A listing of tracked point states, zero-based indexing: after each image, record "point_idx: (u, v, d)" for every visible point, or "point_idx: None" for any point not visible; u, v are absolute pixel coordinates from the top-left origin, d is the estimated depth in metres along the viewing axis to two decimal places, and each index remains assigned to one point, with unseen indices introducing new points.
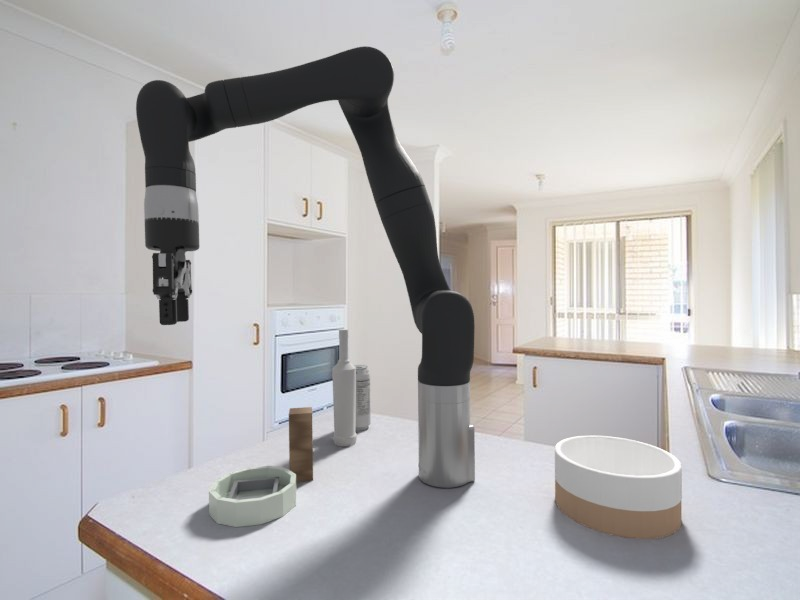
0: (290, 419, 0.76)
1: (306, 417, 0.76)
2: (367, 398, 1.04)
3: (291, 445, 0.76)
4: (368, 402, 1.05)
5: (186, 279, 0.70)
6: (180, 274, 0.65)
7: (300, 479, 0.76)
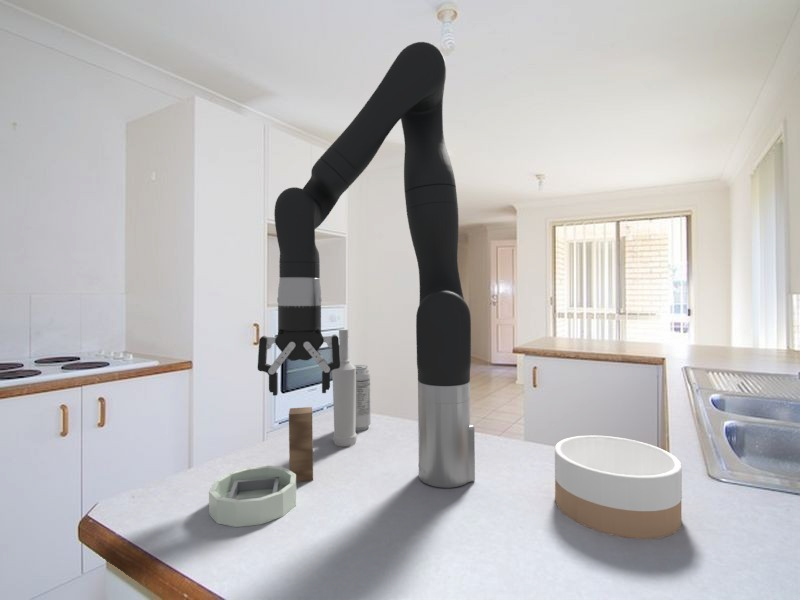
0: (290, 419, 0.76)
1: (306, 417, 0.76)
2: (367, 398, 1.04)
3: (291, 445, 0.76)
4: (368, 402, 1.05)
5: None
6: (317, 350, 0.80)
7: (300, 479, 0.76)
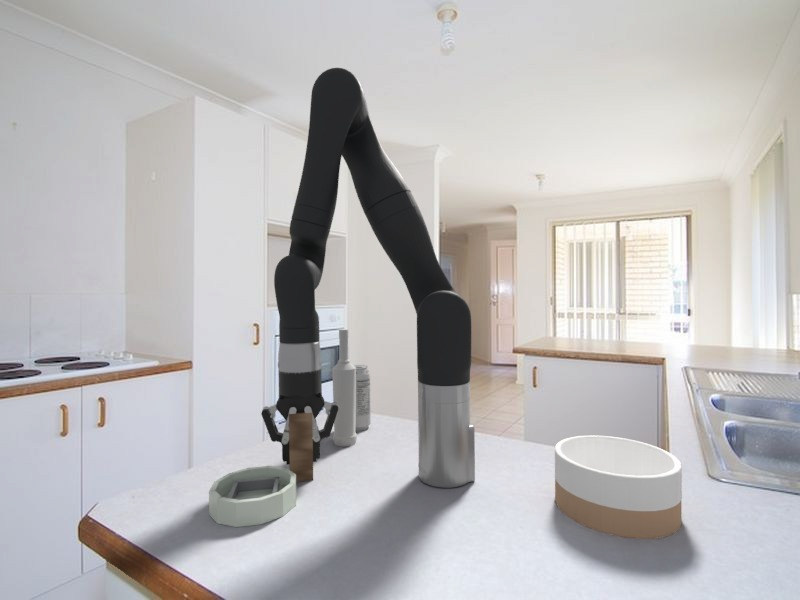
0: (290, 419, 0.76)
1: (306, 417, 0.76)
2: (367, 398, 1.04)
3: (291, 445, 0.76)
4: (368, 402, 1.05)
5: None
6: None
7: (300, 479, 0.76)
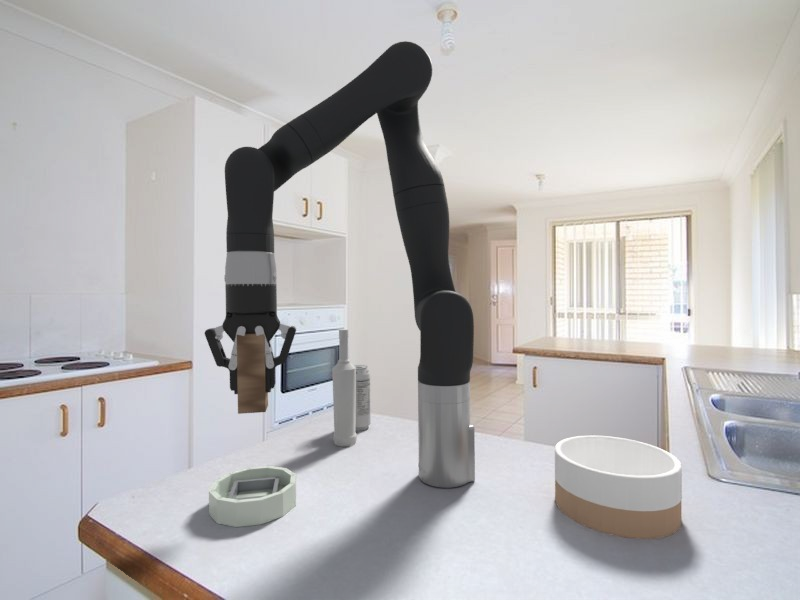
0: (238, 340, 0.65)
1: (257, 338, 0.66)
2: (367, 398, 1.04)
3: (239, 370, 0.65)
4: (368, 402, 1.05)
5: None
6: None
7: (250, 410, 0.66)
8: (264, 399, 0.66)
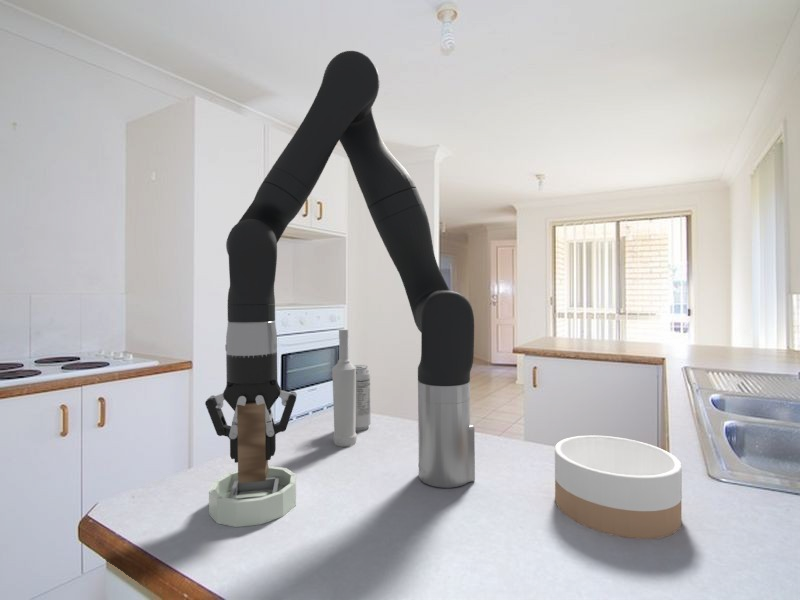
0: (239, 410, 0.66)
1: (258, 408, 0.66)
2: (367, 398, 1.04)
3: (240, 439, 0.66)
4: (368, 402, 1.05)
5: None
6: None
7: (250, 479, 0.66)
8: (264, 468, 0.67)
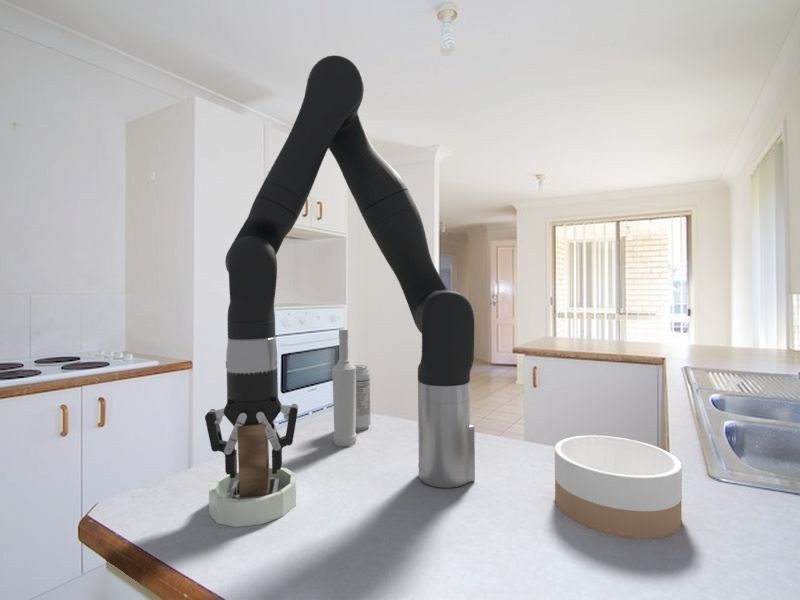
0: (239, 432, 0.66)
1: (258, 429, 0.66)
2: (367, 398, 1.04)
3: (241, 462, 0.66)
4: (368, 402, 1.05)
5: None
6: None
7: None
8: (266, 489, 0.67)
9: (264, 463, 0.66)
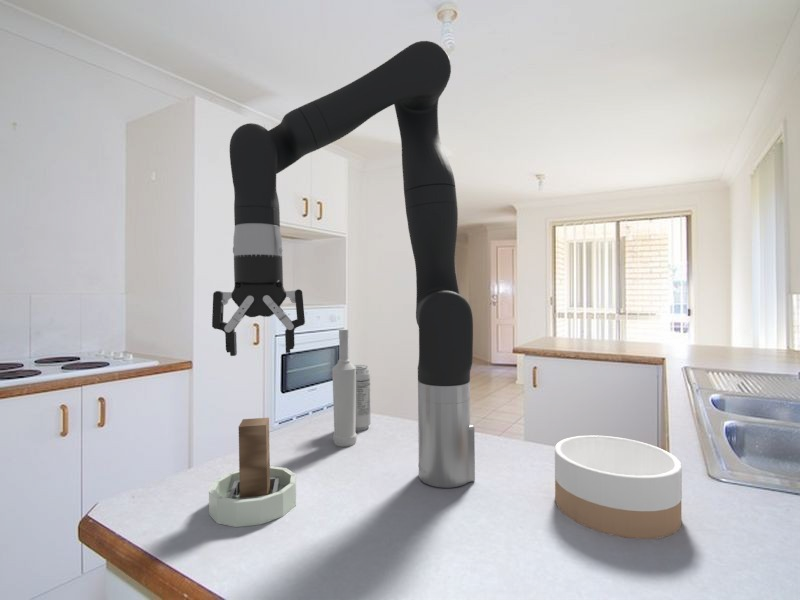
0: (240, 432, 0.66)
1: (259, 430, 0.66)
2: (367, 398, 1.04)
3: (241, 462, 0.66)
4: (368, 402, 1.05)
5: None
6: (280, 307, 0.73)
7: None
8: (266, 490, 0.67)
9: (265, 463, 0.66)
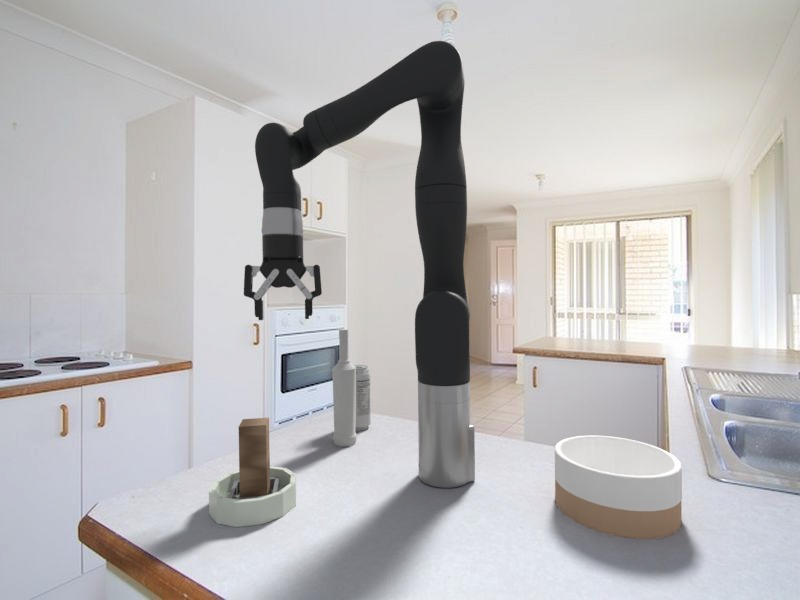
0: (240, 432, 0.66)
1: (259, 430, 0.66)
2: (367, 398, 1.04)
3: (241, 462, 0.66)
4: (368, 402, 1.05)
5: None
6: None
7: None
8: (266, 490, 0.67)
9: (265, 463, 0.66)
